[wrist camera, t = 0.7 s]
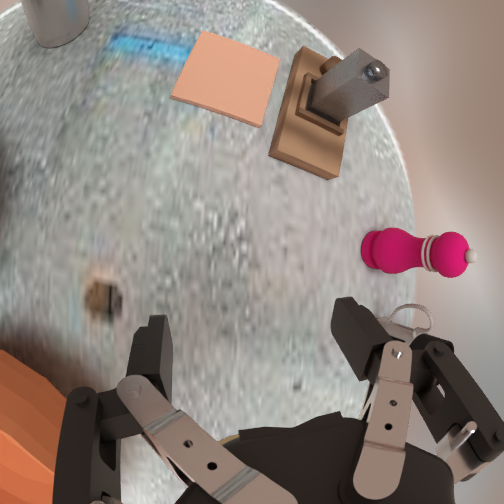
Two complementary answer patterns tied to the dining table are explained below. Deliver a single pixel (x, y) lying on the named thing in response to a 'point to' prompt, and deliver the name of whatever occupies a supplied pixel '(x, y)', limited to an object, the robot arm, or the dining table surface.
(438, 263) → the pepper mill
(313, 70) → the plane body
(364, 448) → the robot arm
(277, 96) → the dining table surface
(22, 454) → the bowl
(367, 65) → the grey square grinder
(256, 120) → the coaster
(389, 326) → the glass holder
